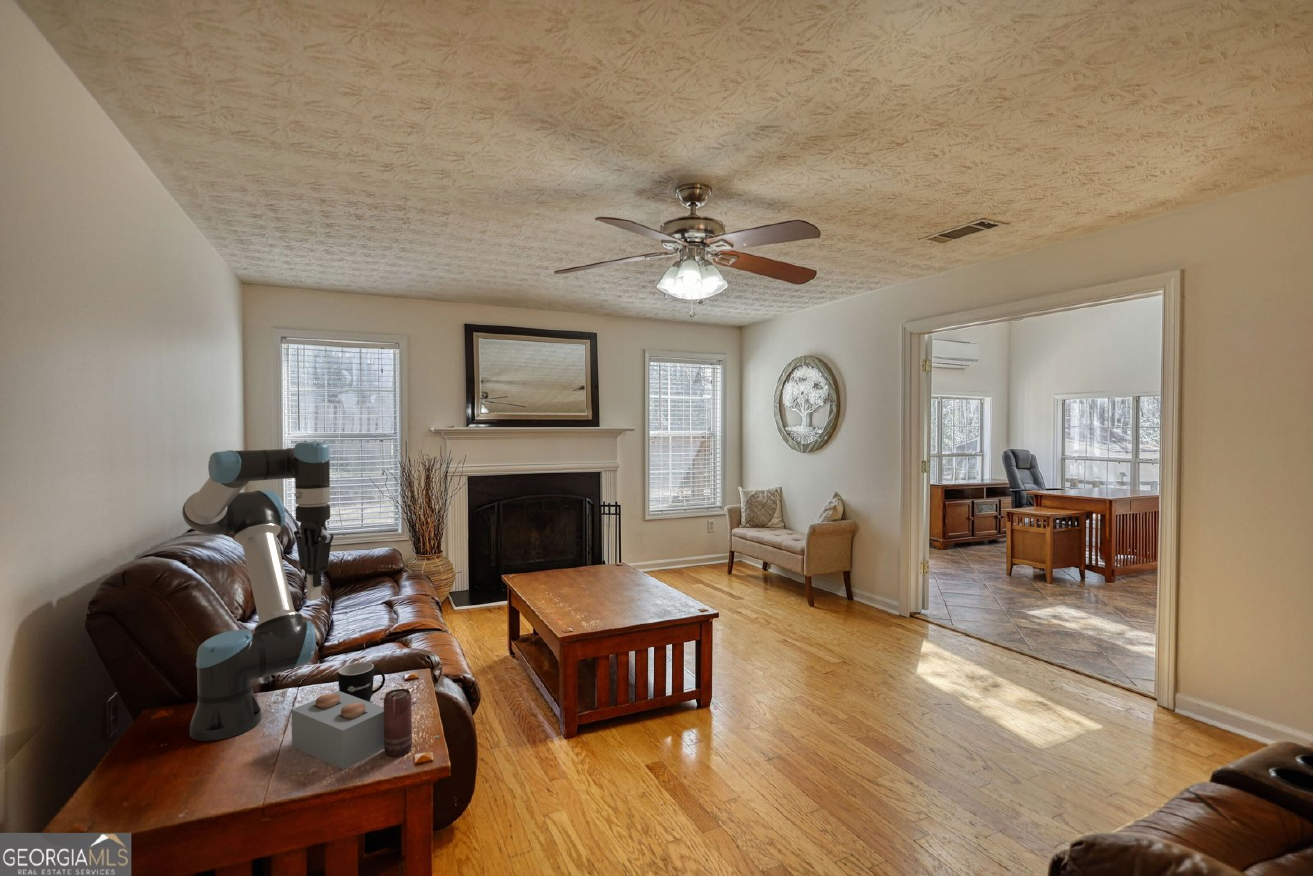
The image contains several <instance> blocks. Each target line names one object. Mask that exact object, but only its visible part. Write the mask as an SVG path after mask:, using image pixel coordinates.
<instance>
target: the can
mask: <svg viewBox="0 0 1313 876" xmlns="http://www.w3.org/2000/svg"><path fill="white" fill-rule="evenodd" d="M383 707H384V750H383V751H384V754H385V755H386V756H387V757H390V758H399V757H402V756H404V755H407V754H408V753H409V752H410V751H411V749H412V747H413V727H412V726H413V723H412V719H413V718H412V715H413V713H412V711H413V709H412V707H413V706H412V693H411V692H410V690H409V689H407V688H397V689H392V690H389V691H388V692H387V693H385V695H384V697H383Z"/></svg>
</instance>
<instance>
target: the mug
mask: <svg viewBox="0 0 1313 876" xmlns="http://www.w3.org/2000/svg"><path fill="white" fill-rule="evenodd" d="M374 666H375V665H374V664H373V663H371V662H367V661H360V662H359V661H358V662H352V663H349V664H346V665H343V666H342V667H340V668H339V669H338V671H337V681H338V682H337V683H338V691H340V692H343V693H346V694H349V695H351V696H354V697H357V698H360V699H362V700H365V701H368V702H370V701H371V699H372V696H373V695H374V694H376V693H377V692H379V691H380V690H381V689H382V688H383V686H384V685H385V683H386V676H385V673H384V672H383V671H381V670H379V669H375V667H374ZM375 674H380V675H381V677H382V679H381V680H382V681H381V684H380V685H379V686H378V687H376V688H375V689H374V678H375Z"/></svg>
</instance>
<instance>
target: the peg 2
mask: <svg viewBox="0 0 1313 876" xmlns="http://www.w3.org/2000/svg"><path fill="white" fill-rule="evenodd" d="M364 712H365V704H363V703H353V704H349V705H346V706H344V707H343V708H342V709H341V716H343V717H345V719H347V720H350V721H351V720H353V719H355V718H358V717H360V716H362V713H364Z"/></svg>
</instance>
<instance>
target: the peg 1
mask: <svg viewBox="0 0 1313 876" xmlns="http://www.w3.org/2000/svg"><path fill="white" fill-rule="evenodd" d="M315 700H316V706H317V707H319V709H322V710H327V709H329V708H332V707H334V706H336V704H337V703H338V702H339V701H340V696H339V695H338V694H331V693H326V694H322V695H320V696H318V697H317V698H316V699H315Z"/></svg>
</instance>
